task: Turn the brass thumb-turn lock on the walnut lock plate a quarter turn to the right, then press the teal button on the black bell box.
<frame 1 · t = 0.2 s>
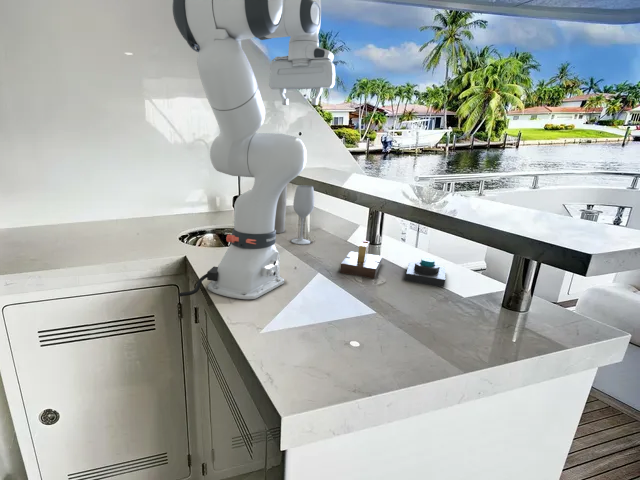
hand: (299, 104, 118), 48 cm above the worktop, tool pointing down, fingers open, 8 cm apart
lock plate: (361, 268, 118), on the worktop
thermos bottle: (275, 231, 161), on the worktop
lock knob: (363, 251, 116), point 6 cm above the worktop, hinge at 0.0°
wineglass: (300, 242, 145), on the worktop
bell button: (427, 262, 110), point 4 cm above the worktop, slide at 0.1 cm
bell box: (424, 277, 112), on the worktop
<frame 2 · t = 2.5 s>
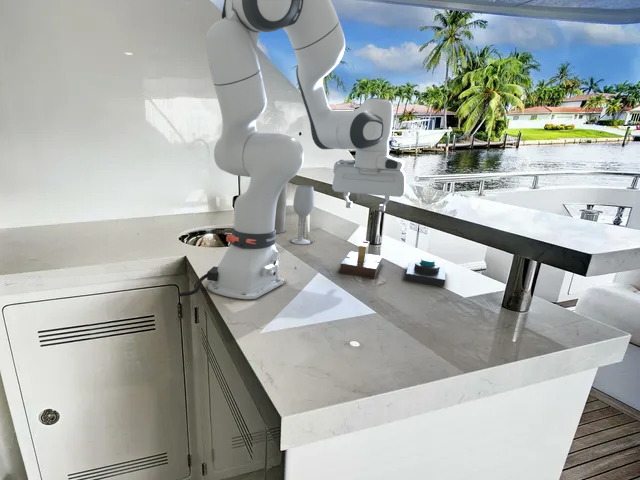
hand: (364, 209, 112), 18 cm above the worktop, tool pointing down, fingers open, 8 cm apart
nothing on the worktop moved.
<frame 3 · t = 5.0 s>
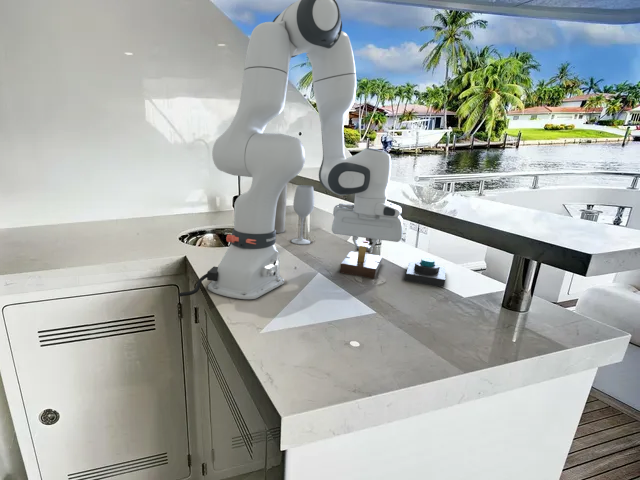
hand: (363, 251, 116), 6 cm above the worktop, tool pointing down, fingers closed on lock knob, 2 cm apart
lock knob: (363, 251, 116), point 6 cm above the worktop, hinge at 0.1°, touching gripper
everything else where it was.
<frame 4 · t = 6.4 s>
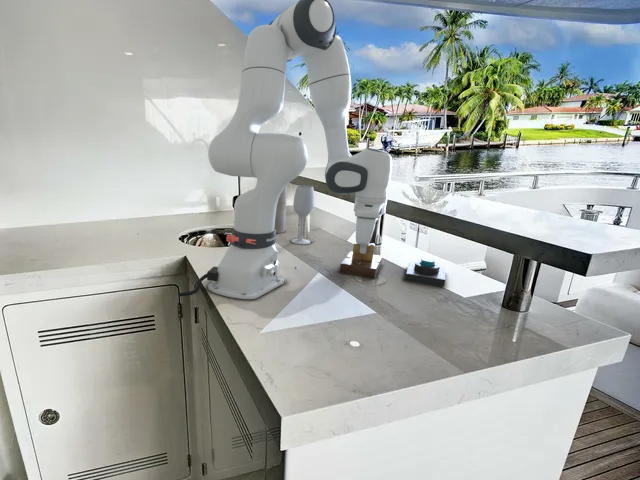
hand: (363, 251, 116), 6 cm above the worktop, tool pointing down, fingers closed on lock knob, 2 cm apart
lock knob: (363, 251, 116), point 6 cm above the worktop, hinge at -85.9°, touching gripper
everything else where it was.
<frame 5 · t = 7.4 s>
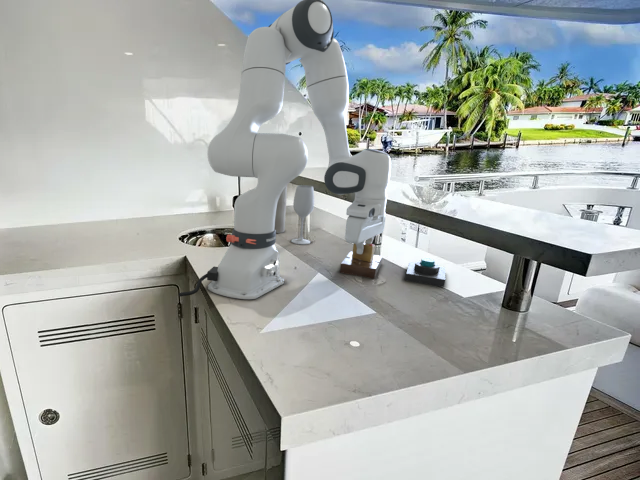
hand: (363, 252, 116), 5 cm above the worktop, tool pointing down, fingers open, 3 cm apart
lock knob: (363, 251, 116), point 6 cm above the worktop, hinge at -104.6°
everything else where it was.
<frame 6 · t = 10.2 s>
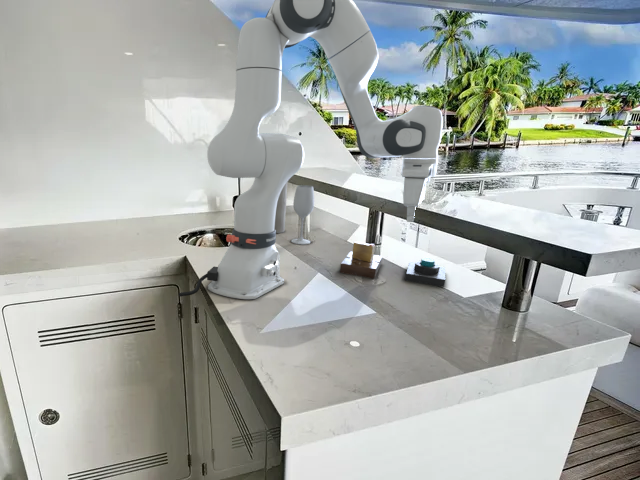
hand: (411, 219, 109), 17 cm above the worktop, tool pointing down, fingers open, 8 cm apart
nothing on the worktop moved.
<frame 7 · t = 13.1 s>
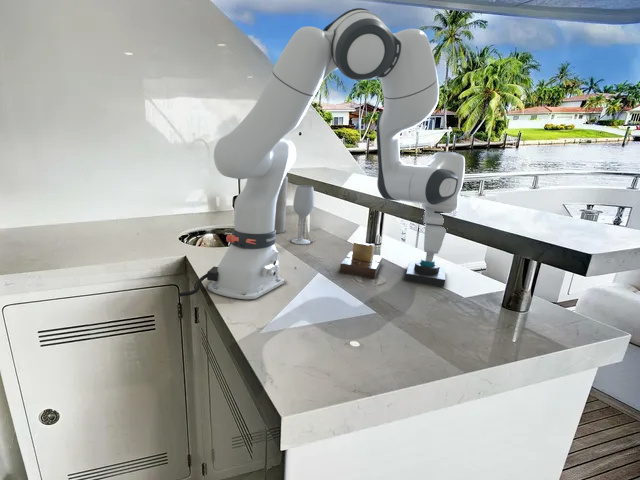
hand: (428, 260, 110), 5 cm above the worktop, tool pointing down, fingers closed, pressing on bell button
bell button: (427, 262, 110), point 4 cm above the worktop, slide at 0.1 cm, touching gripper
everything else where it was.
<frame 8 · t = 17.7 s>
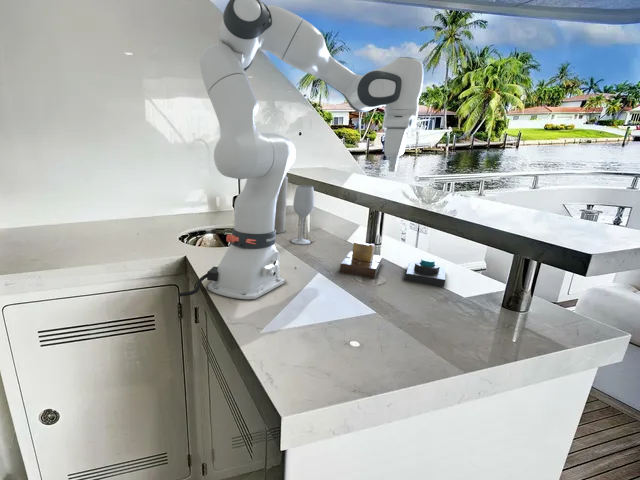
hand: (392, 171, 113), 29 cm above the worktop, tool pointing down, fingers closed
bell button: (427, 262, 110), point 4 cm above the worktop, slide at 0.1 cm
everything else where it was.
at the end: lock knob at -105° (first picture: +0°); bell button pushed in 1.1 cm at the most during the clip, back to where it started at the end; bell button slide at 0.1 cm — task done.
